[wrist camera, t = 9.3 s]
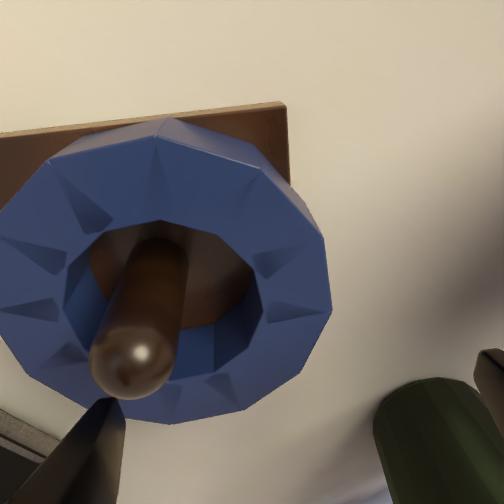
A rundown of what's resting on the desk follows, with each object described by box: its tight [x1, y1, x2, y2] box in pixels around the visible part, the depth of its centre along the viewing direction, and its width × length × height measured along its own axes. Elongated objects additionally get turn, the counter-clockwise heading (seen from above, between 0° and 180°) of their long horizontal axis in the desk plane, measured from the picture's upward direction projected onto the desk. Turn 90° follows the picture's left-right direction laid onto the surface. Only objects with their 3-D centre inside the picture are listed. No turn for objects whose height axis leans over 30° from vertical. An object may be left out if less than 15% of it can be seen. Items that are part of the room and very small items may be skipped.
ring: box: [0, 117, 333, 425], centre depth 14 cm, size 11×11×3 cm
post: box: [0, 101, 291, 400], centre depth 13 cm, size 11×11×8 cm
